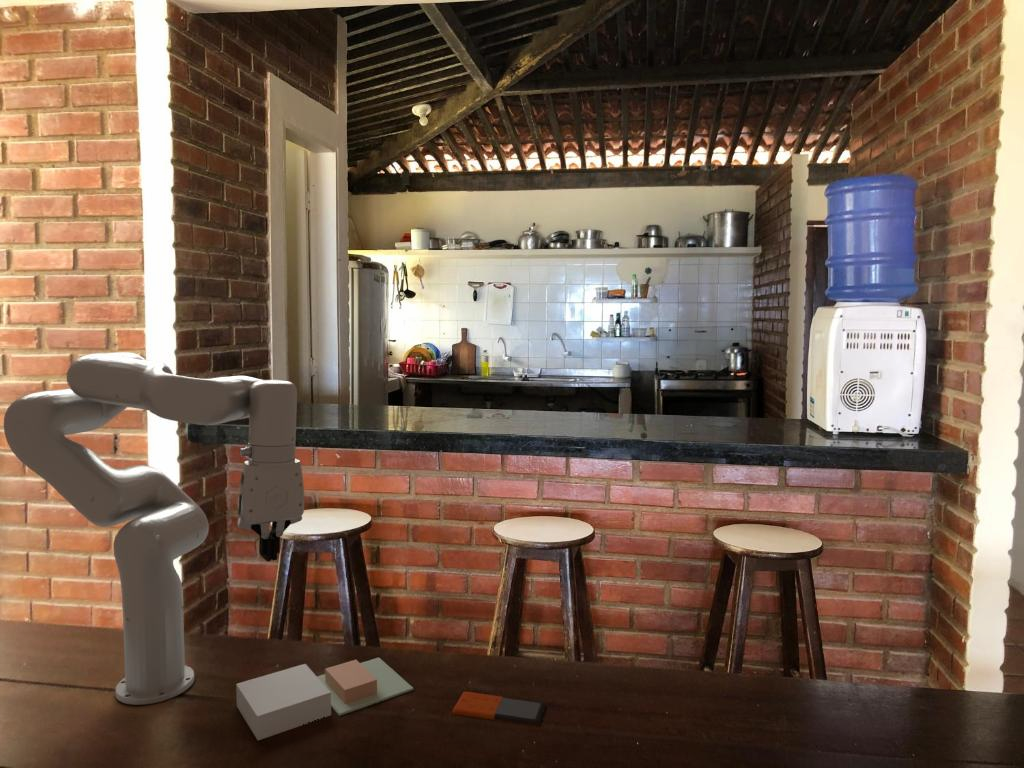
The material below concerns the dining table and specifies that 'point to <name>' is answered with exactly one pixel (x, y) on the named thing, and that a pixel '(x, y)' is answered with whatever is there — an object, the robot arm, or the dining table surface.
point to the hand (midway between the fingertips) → (269, 558)
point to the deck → (282, 701)
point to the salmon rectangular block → (351, 681)
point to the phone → (500, 708)
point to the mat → (386, 687)
